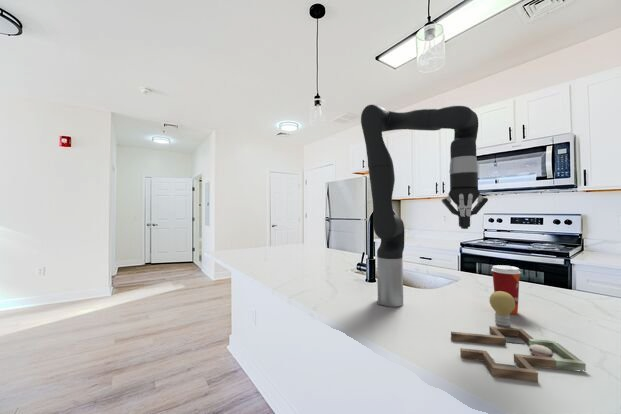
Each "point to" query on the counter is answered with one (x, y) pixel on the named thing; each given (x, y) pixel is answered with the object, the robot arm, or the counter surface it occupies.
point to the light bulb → (502, 307)
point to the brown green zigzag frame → (522, 361)
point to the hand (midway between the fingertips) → (464, 228)
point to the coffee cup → (507, 282)
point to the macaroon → (540, 351)
